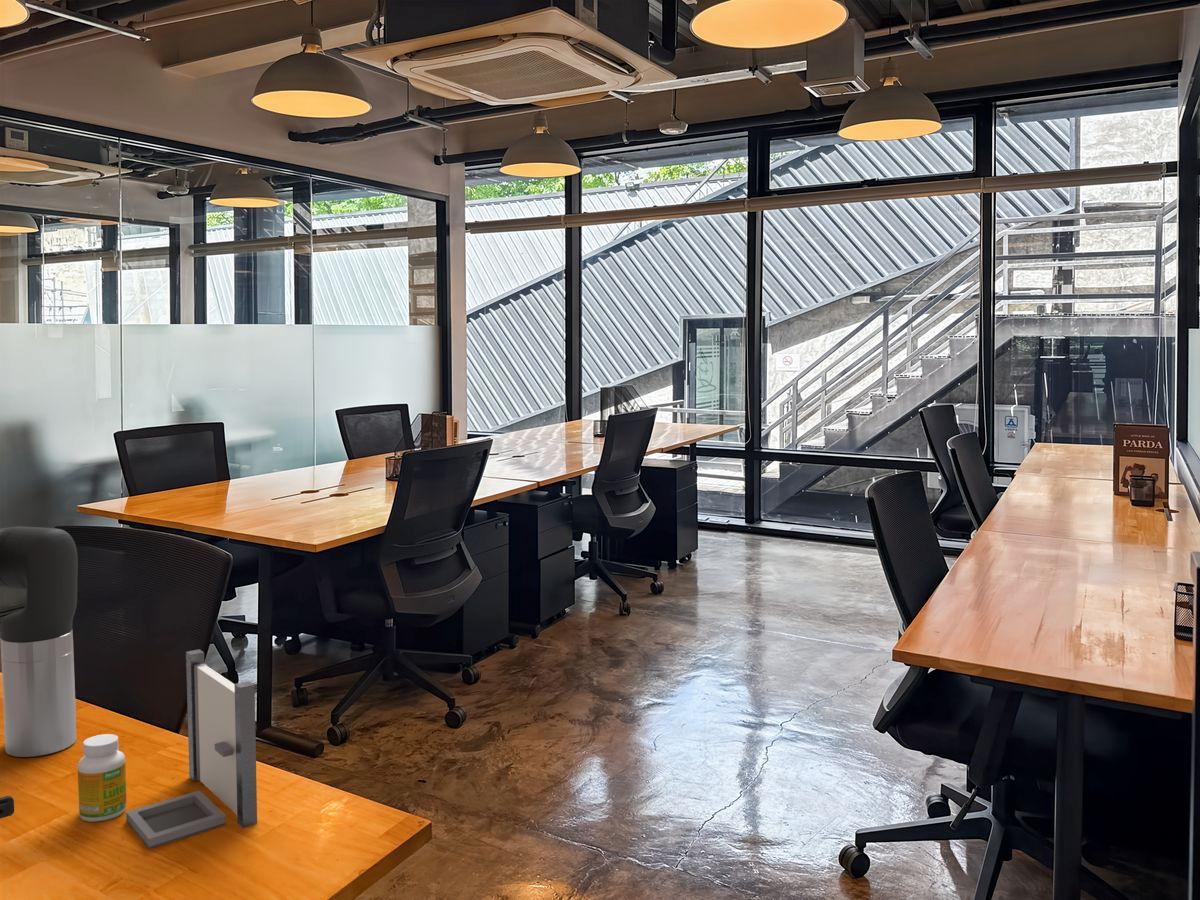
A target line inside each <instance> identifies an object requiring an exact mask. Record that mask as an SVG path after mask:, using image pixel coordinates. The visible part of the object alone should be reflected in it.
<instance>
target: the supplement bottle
mask: <svg viewBox="0 0 1200 900" xmlns="http://www.w3.org/2000/svg"><path fill="white" fill-rule="evenodd" d="M119 746H120V745H119V736H118V735H116V734H112V733H104V734H103V733H102V734H97V735H93V736H91V737H88V738H86V739H85V740H84V741H83V742H82V753H83V755H84V756H82V757H81V758H80V760H79V761H78V763H77V782H78V783H77V786H78V789H77V790H78V813H79V818H80V819H81V820H82V821H85V822H92V823H94V822H104V821H108V820H112V819H114V818H116V817H118V816H121V814H123V813H124V812H126V809H127V774H126V773H127V772H126V756H125V754H124V752H122V751H120V750H119Z"/></svg>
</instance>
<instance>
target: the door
mask: <svg viewBox="0 0 1200 900" xmlns="http://www.w3.org/2000/svg"><path fill="white" fill-rule="evenodd" d="M194 680H195V719H196V759H197V780H198V781H200V782H201V783H202V784H203V785H204V786H205V787H206V788H208V789H209V790H210V791H211V792H212V793H213V795H215V796H216V797H217V798H218V799H220V801H221V802H222V803H224V805H226V806H227V807H228V808H229V809H230V810H231V811H232V812H233V813H234V814H235V815H237V779H236V733H235V687H234V684H235V683H233V682H232V681H231V680H229V679H227V678H226V677H224V676H223V675H221V674H220V673H218V672H217V671H216V670H214V669H212V668H210V667H209V666H208V664H206V663H204V664H197V665H194Z"/></svg>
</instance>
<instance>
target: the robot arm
mask: <svg viewBox="0 0 1200 900" xmlns="http://www.w3.org/2000/svg"><path fill="white" fill-rule="evenodd" d="M78 559H79V558H78V551H77V545H76V542H75V540H74V538H73V537H72V535H70V533H69V532H67V531H65V530H64V529H60V528H54V527H42V526H41V527H36V526H22V525H20V526H9V527H1V528H0V588H4V589H14V590H26V591H25V593H26V594H25V604H24V605H25V606H24V608H23V609H21V610H18V611H15V612H12V613H9V614H7V615H6V616H4V617H3V618H2V619H1V620H0V657H1V660H0V661H1V677H2V679H1V680H2V703H3V722H4V724H3V725H4V726H3V727H4V749H5V753H6V754H7V755H9V756H12V757H17V758H21V757H22V758H28V757H29V758H30V757H39V756H44V755H49V754H54V753H57V752H60V751H62V750H65V749H66V748H69V747H71V746H72V745H73V744H74V743H76V741H77V720H76V719H77V718H76V713H77V712H76V689H75V687H76V686H75V681H76V680H75V661H74V659H75V657H74V656H75V655H74V654H75V653H74V635H73V633H74V632H73V620H74V616H75V613H76V609H77V604H78V569H79V565H78V564H79V563H78V562H79V561H78ZM14 813H15V800H14V798H13V796H12V795H6V796H1V797H0V819H3V818H7V817H10V816H12V815H13V814H14Z"/></svg>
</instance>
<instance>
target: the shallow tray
mask: <svg viewBox="0 0 1200 900" xmlns="http://www.w3.org/2000/svg"><path fill="white" fill-rule="evenodd" d="M125 818H126V819H125V820H126V823H127V825H129V827H130V828H131V829H132V830H133V832H134V833H135V834H136V835H137V837H138V838H139V839H140V840H141V842H143V844H144V845H145V846H146V847H147V849H148V850H152V849H155V848H158V847H161V846H165V845H167V844H171V843H174V842H177V841H180V840H183V839H186V838H189V837H192V836H196V835H198V834H202V833H205V832H209V831H211V830H214V829H217V828H221V827H224V826H226V814H225V813H224V812H223V811H222V810H221V809H220V808H218V807H217V806H216V804H214V803H213V802H212V801H211V799H209V798H208V797H207V795H205V794H204V793H203V792H202V791H201V790H196V791H193V792H190V793H186V794H183V795H180V796H176V797H173V798H169V799H166V800H161V801H158V802H155V803H152V804H149V805H144V806H142V807H138V808H133V809H132V810H128V811H125Z"/></svg>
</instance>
